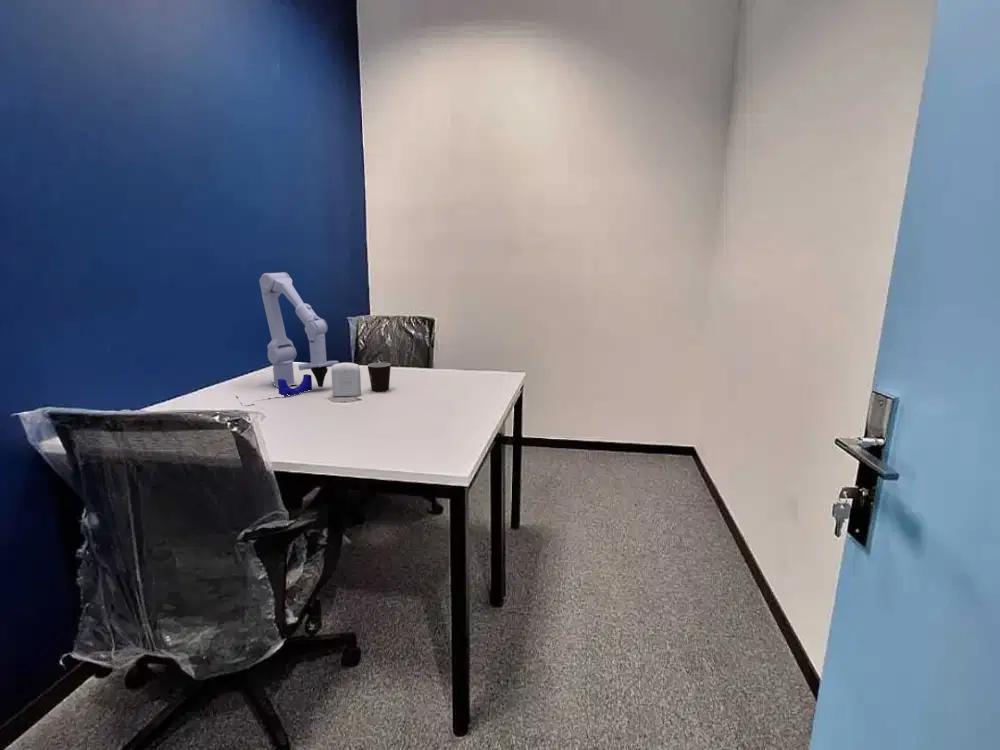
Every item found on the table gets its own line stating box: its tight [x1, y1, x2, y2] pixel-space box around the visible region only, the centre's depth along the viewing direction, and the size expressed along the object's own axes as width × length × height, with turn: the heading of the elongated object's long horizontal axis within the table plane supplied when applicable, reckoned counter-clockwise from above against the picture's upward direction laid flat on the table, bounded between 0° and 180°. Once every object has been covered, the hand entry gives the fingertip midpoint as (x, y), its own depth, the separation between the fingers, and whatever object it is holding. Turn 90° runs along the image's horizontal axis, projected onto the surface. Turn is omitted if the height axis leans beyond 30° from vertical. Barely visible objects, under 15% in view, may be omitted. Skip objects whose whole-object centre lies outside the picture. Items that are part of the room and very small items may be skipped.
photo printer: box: [331, 362, 362, 397], centre depth 207 cm, size 10×4×12 cm, turn 98°
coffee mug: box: [367, 362, 392, 393], centre depth 216 cm, size 12×9×10 cm
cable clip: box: [277, 374, 313, 396], centre depth 210 cm, size 12×4×6 cm, turn 141°
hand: (320, 386), depth 215 cm, fingers closed
